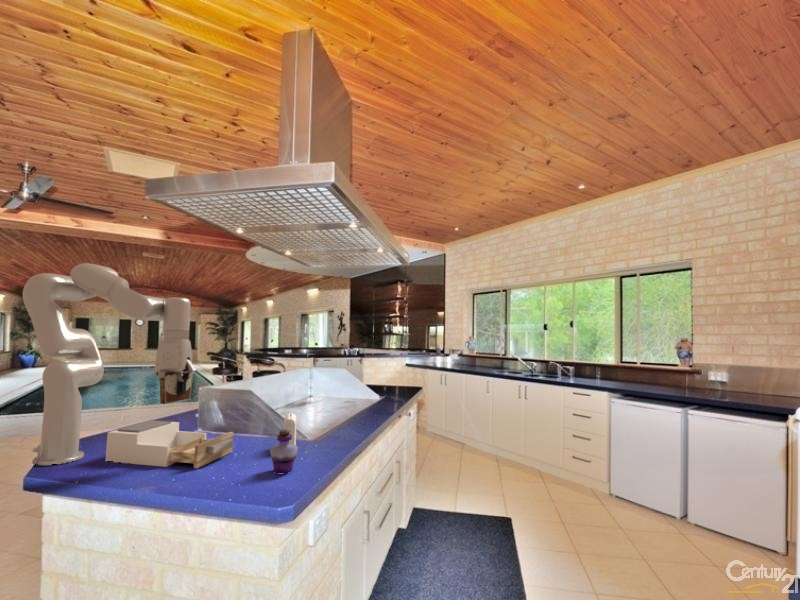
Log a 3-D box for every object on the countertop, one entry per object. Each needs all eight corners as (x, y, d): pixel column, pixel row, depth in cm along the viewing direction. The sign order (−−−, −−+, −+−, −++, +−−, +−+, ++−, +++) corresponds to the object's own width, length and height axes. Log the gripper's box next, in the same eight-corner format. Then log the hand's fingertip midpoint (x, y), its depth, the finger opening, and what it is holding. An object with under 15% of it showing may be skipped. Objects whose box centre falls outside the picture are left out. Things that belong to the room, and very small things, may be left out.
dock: (205, 450, 144) (207, 422, 145) (166, 466, 126) (168, 434, 127) (150, 446, 148) (152, 418, 149) (105, 461, 130) (107, 430, 131)
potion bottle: (288, 465, 130) (289, 426, 131) (303, 471, 124) (304, 430, 125) (262, 471, 124) (264, 430, 125) (277, 478, 118) (278, 435, 119)
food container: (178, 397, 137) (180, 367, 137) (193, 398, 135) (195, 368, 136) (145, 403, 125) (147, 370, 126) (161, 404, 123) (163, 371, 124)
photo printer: (294, 452, 143) (296, 416, 144) (281, 453, 142) (283, 416, 143) (296, 444, 153) (297, 411, 154) (284, 445, 152) (285, 411, 154)
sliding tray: (239, 452, 141) (240, 432, 142) (204, 469, 123) (205, 446, 124) (201, 449, 144) (203, 429, 145) (162, 465, 126) (163, 443, 127)
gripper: (143, 336, 130) (140, 394, 128) (190, 336, 126) (187, 396, 125) (162, 336, 137) (159, 391, 135) (207, 336, 133) (204, 393, 132)
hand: (172, 393), depth 130 cm, fingers closed on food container, 5 cm apart
